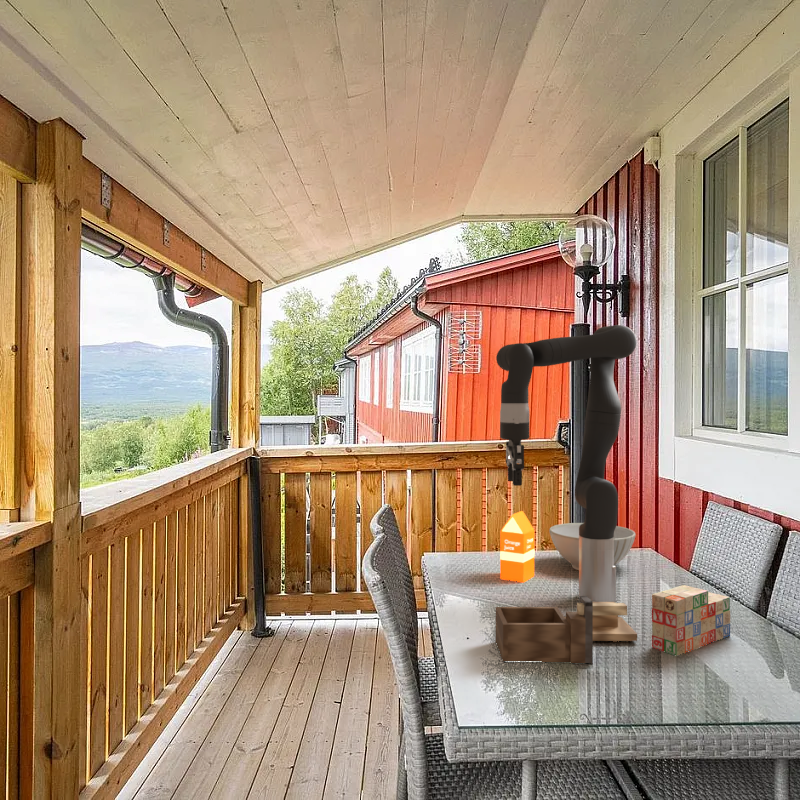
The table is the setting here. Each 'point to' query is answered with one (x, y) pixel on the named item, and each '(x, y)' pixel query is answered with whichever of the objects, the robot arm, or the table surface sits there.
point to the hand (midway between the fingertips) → (514, 483)
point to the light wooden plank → (605, 609)
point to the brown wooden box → (545, 634)
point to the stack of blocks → (688, 619)
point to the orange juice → (517, 549)
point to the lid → (612, 628)
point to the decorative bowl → (568, 542)
